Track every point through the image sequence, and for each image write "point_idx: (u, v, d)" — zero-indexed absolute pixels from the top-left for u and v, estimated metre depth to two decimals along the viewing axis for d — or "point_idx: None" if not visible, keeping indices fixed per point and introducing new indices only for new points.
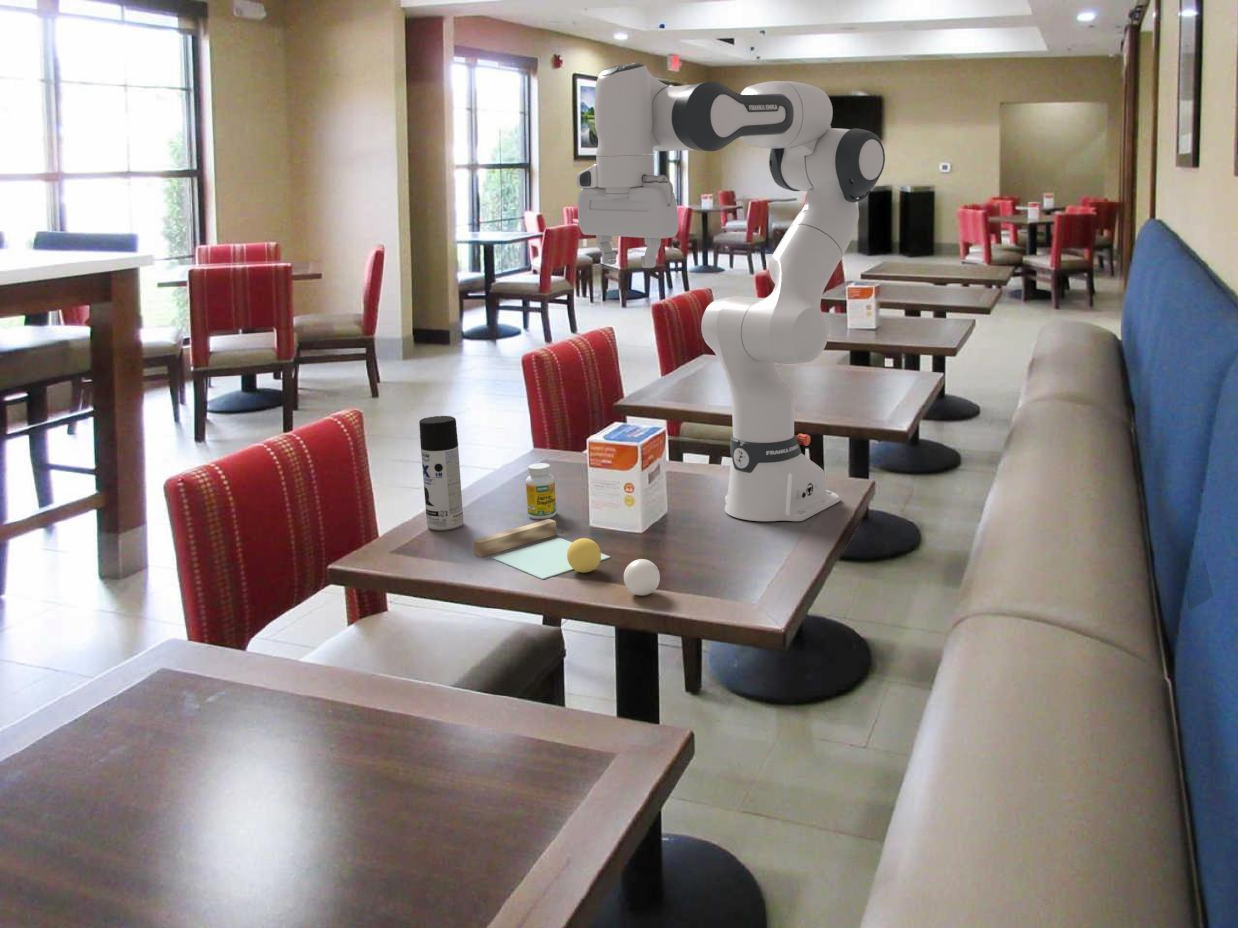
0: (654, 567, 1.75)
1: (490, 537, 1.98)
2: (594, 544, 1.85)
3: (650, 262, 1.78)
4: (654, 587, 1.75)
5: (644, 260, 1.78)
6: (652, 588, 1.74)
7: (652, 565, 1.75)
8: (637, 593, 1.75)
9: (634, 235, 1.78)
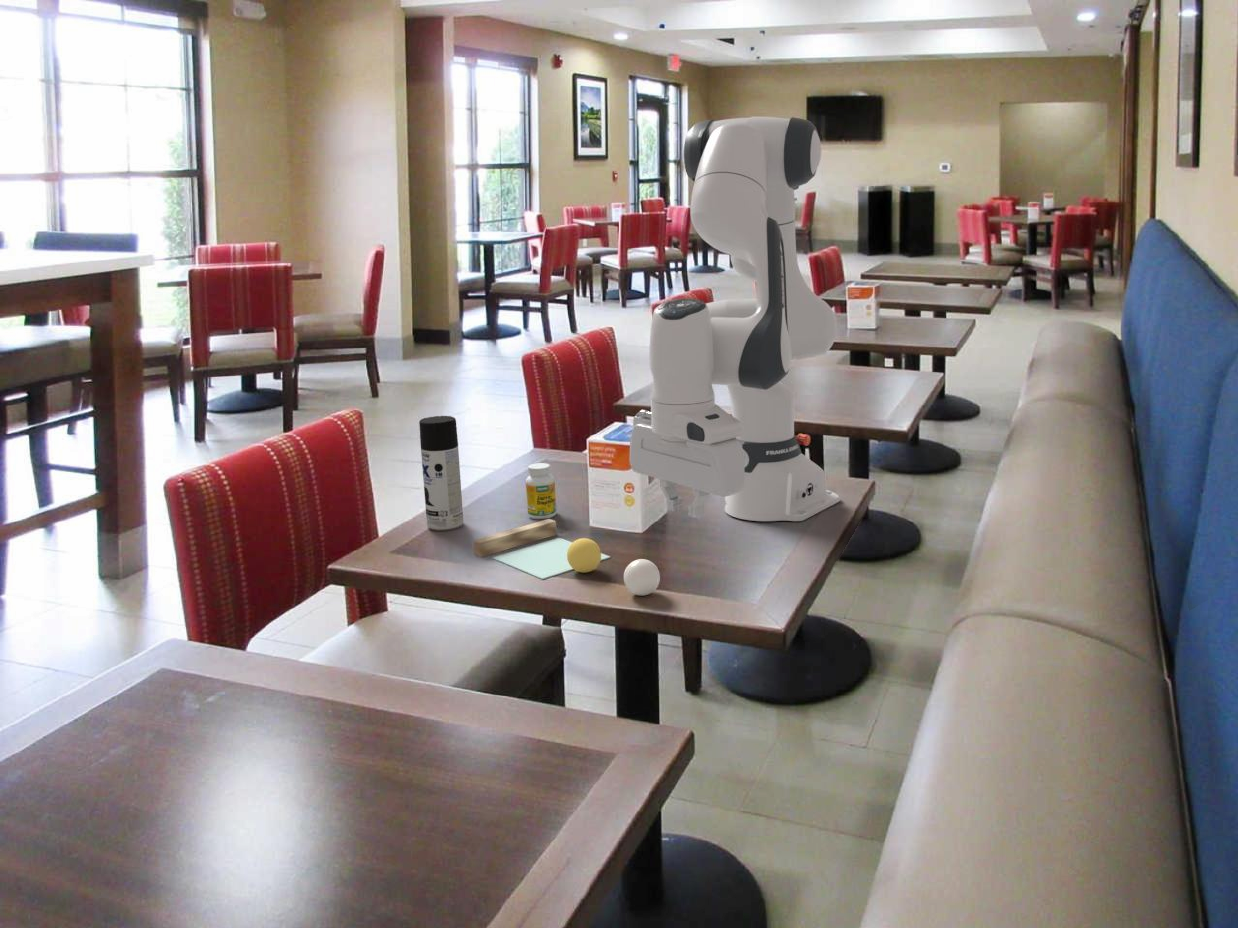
0: (654, 567, 1.75)
1: (490, 537, 1.98)
2: (594, 544, 1.85)
3: None
4: (654, 587, 1.75)
5: None
6: (652, 588, 1.74)
7: (652, 565, 1.75)
8: (637, 593, 1.75)
9: None
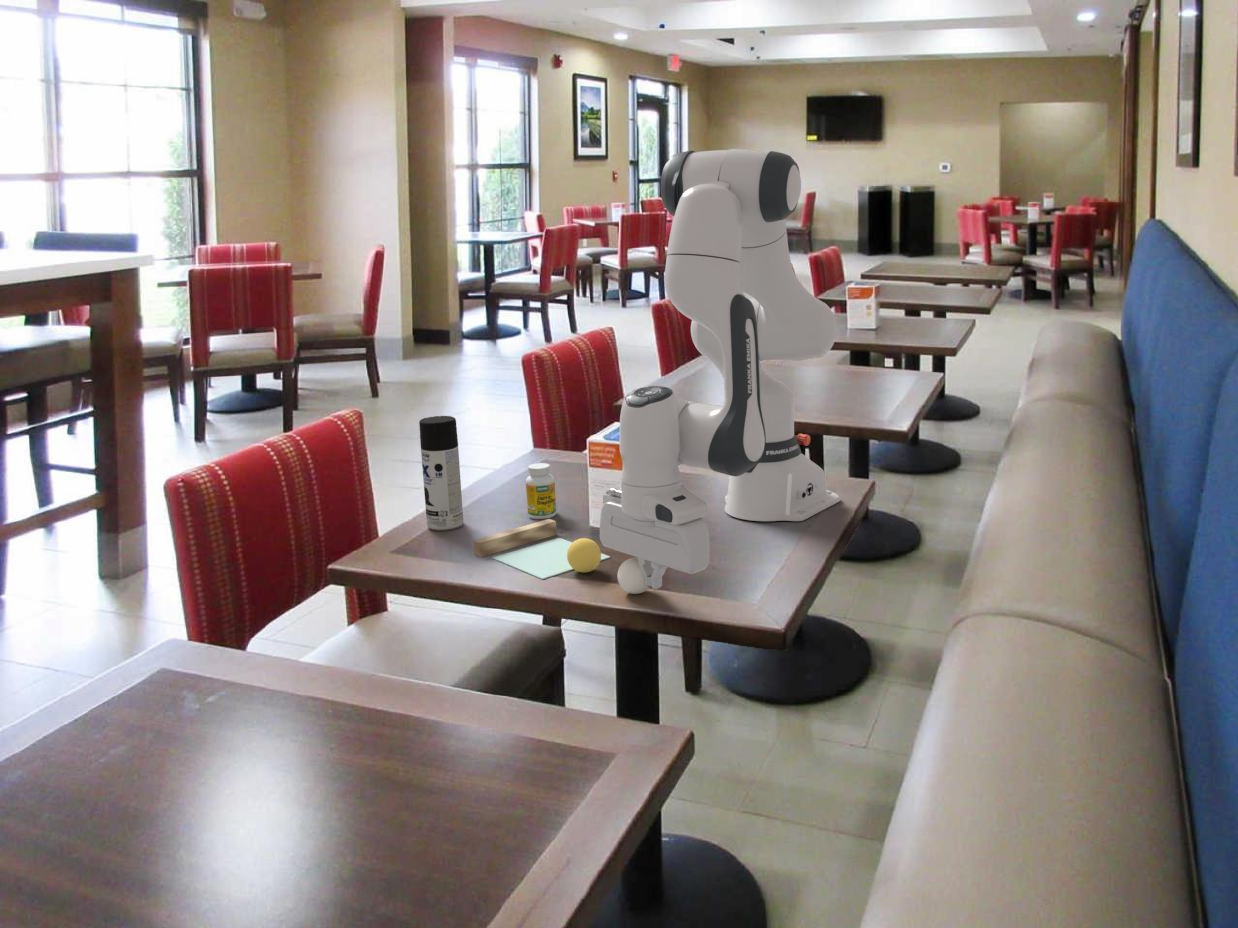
0: None
1: (490, 537, 1.98)
2: (594, 544, 1.85)
3: None
4: None
5: None
6: None
7: None
8: (632, 591, 1.75)
9: None
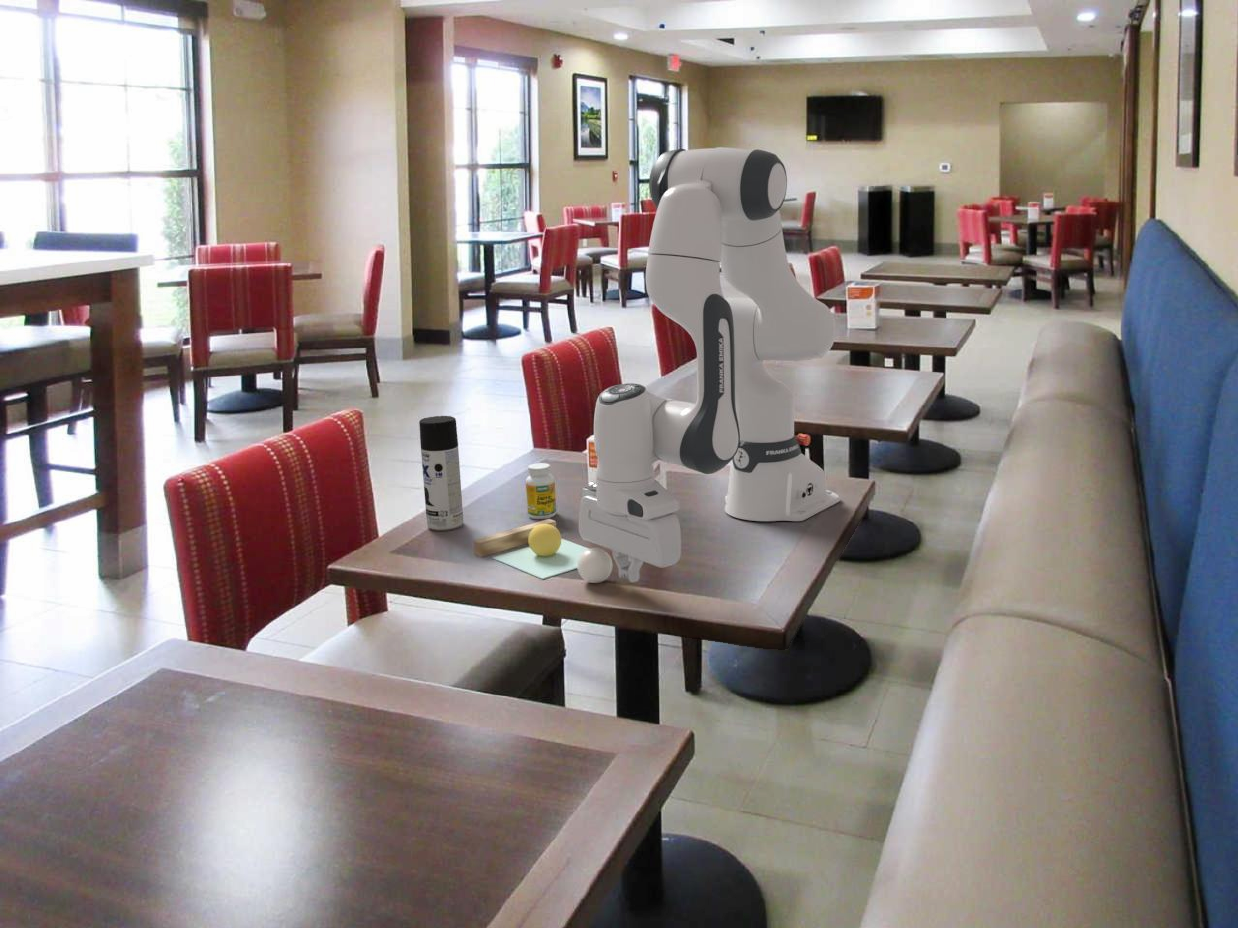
0: None
1: (490, 537, 1.98)
2: None
3: None
4: None
5: None
6: None
7: None
8: (581, 561, 1.80)
9: None
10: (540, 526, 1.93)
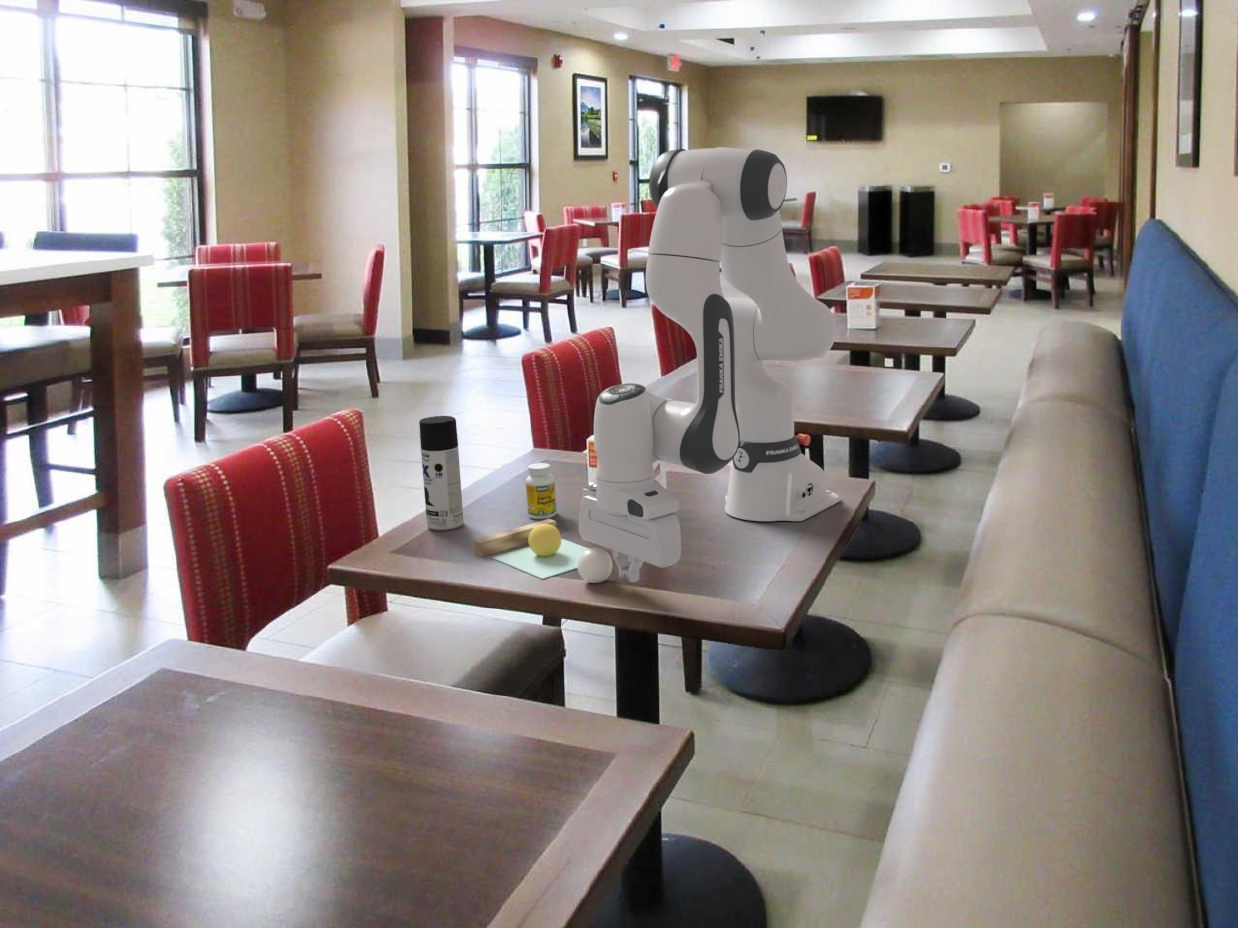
0: None
1: (490, 537, 1.98)
2: None
3: None
4: None
5: None
6: None
7: None
8: (581, 561, 1.80)
9: None
10: (540, 526, 1.93)
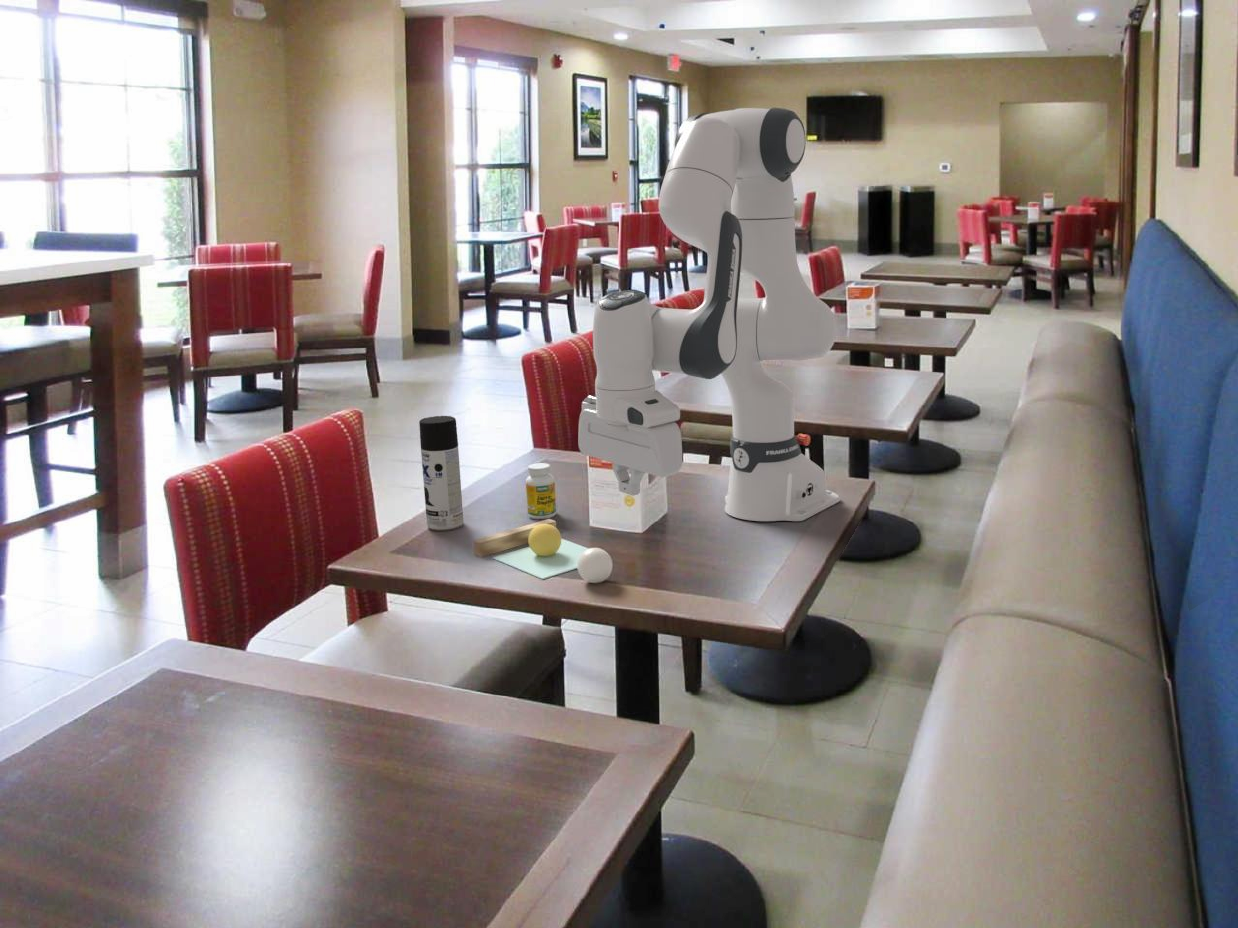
0: None
1: (490, 537, 1.98)
2: None
3: None
4: None
5: None
6: None
7: None
8: (581, 561, 1.80)
9: None
10: (540, 526, 1.93)
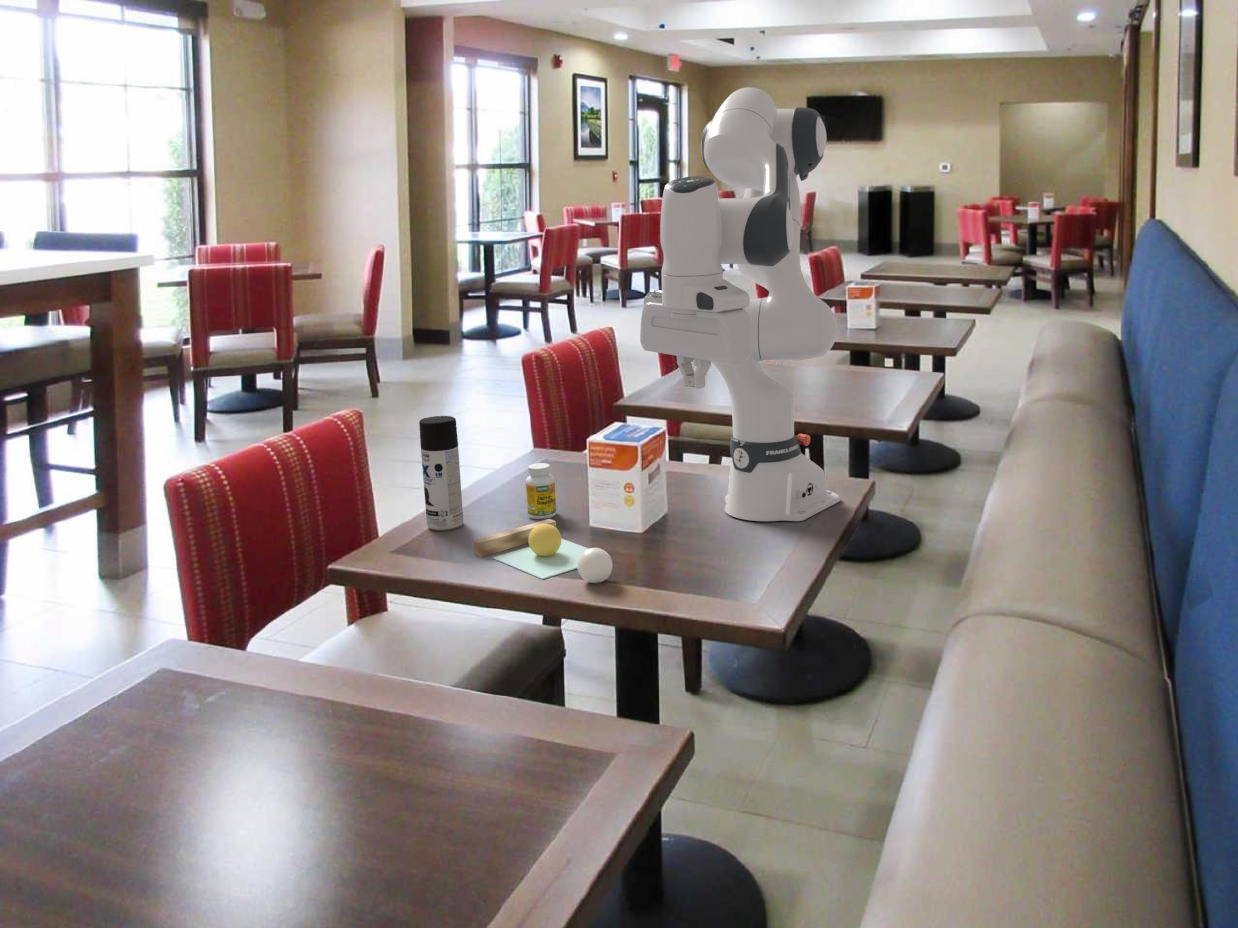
0: None
1: (490, 537, 1.98)
2: None
3: None
4: None
5: None
6: None
7: None
8: (581, 561, 1.80)
9: None
10: (540, 526, 1.93)
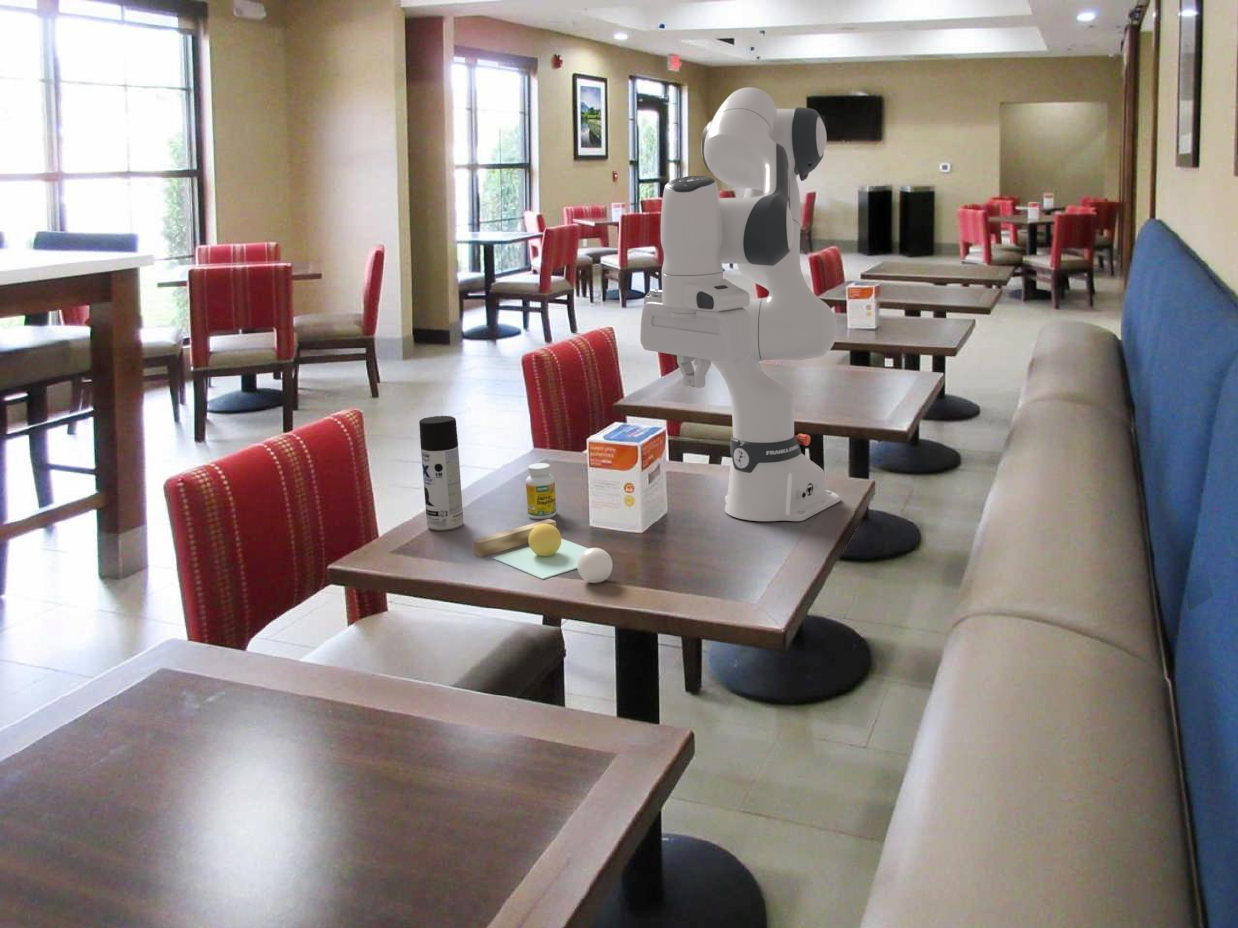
0: None
1: (490, 537, 1.98)
2: None
3: None
4: None
5: None
6: None
7: None
8: (581, 561, 1.80)
9: None
10: (540, 526, 1.93)
